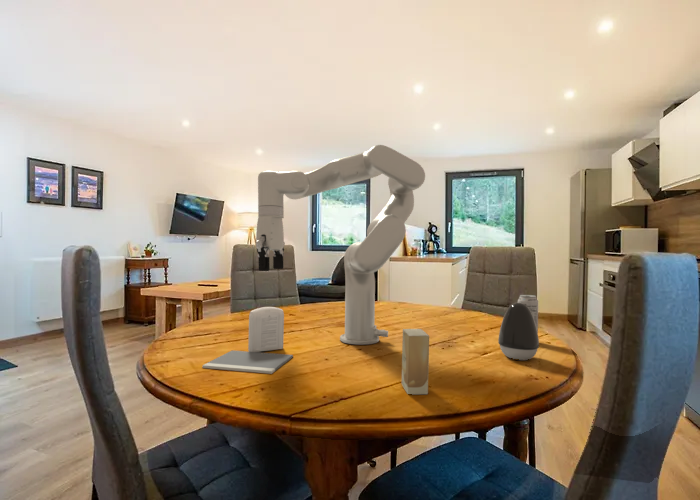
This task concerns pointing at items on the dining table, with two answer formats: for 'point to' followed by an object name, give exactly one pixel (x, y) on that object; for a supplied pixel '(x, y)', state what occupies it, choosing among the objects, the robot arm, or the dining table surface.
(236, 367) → the mat
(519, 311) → the grey egg shaped device
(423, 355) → the skincare box
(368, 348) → the dining table surface
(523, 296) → the energy drink can
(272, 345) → the photo printer
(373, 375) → the dining table surface
